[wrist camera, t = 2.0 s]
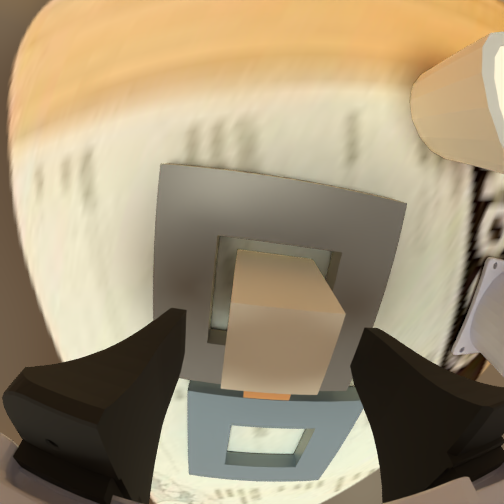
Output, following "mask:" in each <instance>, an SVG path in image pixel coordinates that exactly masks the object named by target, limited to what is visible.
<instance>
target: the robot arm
mask: <svg viewBox="0 0 504 504" xmlns="http://www.w3.org/2000/svg"><path fill="white" fill-rule="evenodd" d="M493 265H494V266H493ZM186 313H187V310H184V309H177V308H170V309H169V310H167V311H166V312H164V313H163V314H162V315H160V316H159V317H158V318H156V319H155V320H154V321H152V322H151V323H150V324H148V325H147V326H145V327H144V328H143V329H141V330H140V331H138V332H136V333H135V334H133V335H132V336H130V337H128V338H127V339H125V340H123V341H121V342H119V343H117V344H115V345H113V346H111V347H109V348H107V349H105V350H102V351H99V352H97V353H94V354H91V355H88V356H85V357H82V358H79V359H75V360H72V361H67V362H63V363H58V364H52V365H45V366H35V367H25V368H24V369H23V370H22V372H21V373H20V374H19V375H18V376H17V377H16V379H15V380H14V381H13V382H12V383H11V385H10V386H9V387H8V388H7V390H6V391H5V392H4V394H3V397H2V399H3V404H4V408H5V410H6V412H7V414H8V416H9V418H10V419H11V421H12V423H13V425H14V426H15V428H16V429H17V431H18V433H19V434H20V436H21V438H22V439H23V440H22V442H21V444H20V445H19V446H18V445H17V444H16V443H15V442H13V441H12V440H11V439H9V438H8V437H6V436H5V435H3V434H2V433H0V504H149V499H150V491H151V484H152V477H153V471H154V465H155V459H156V454H157V449H158V443H159V439H160V434H161V429H162V425H163V421H164V418H165V415H166V412H167V409H168V406H169V404H170V401H171V398H172V395H173V392H174V390H175V387H176V384H177V381H178V379H179V376H180V373H181V369H182V364H183V360H184V355H185V339H186ZM451 352H452V353H453V354H454V355H462V354H472V353H481V354H482V355H483V356H484V357H485V358H486V359H487V360H488V361H489V362H490V363H491V364H492V365H493V366H494V367H495V368H496V369H497V371H498V372H499V373H500V374H501V375H502V376H503V377H504V260H502V259H498V258H494V257H488V258H487V260H486V261H485V264H484V268H483V271H482V274H481V277H480V280H479V283H478V286H477V289H476V292H475V295H474V297H473V300H472V303H471V305H470V308H469V310H468V313H467V315H466V318H465V320H464V322H463V325H462V327H461V329H460V332H459V334H458V336H457V338H456V340H455V343H454V345H453V347H452V349H451ZM350 368H351V373H352V377H353V381H354V385H355V388H356V391H357V393H358V396H359V398H360V401H361V403H362V406H363V408H364V410H365V413H366V415H367V418H368V421H369V423H370V426H371V429H372V432H373V436H374V440H375V444H376V449H377V454H378V459H379V465H380V473H381V482H382V500H383V503H382V504H504V450H503V449H502V447H501V445H503V443H504V439H503V438H502V435H503V434H504V387H497V386H492V385H488V384H483V383H480V382H476V381H473V380H470V379H467V378H465V377H462V376H459V375H457V374H454V373H452V372H450V371H448V370H446V369H444V368H442V367H440V366H438V365H436V364H434V363H432V362H431V361H429V360H427V359H426V358H424V357H422V356H421V355H419V354H417V353H416V352H414V351H413V350H411V349H410V348H408V347H407V346H405V345H404V344H402V343H401V342H399V341H398V340H396V339H395V338H393V337H392V336H390V335H389V334H387V333H385V332H384V331H382V330H380V329H378V328H365V327H364V330H363V333H362V336H361V338H360V341H359V344H358V347H357V349H356V352H355V354H354V357H353V360H352V362H351V365H350Z"/></svg>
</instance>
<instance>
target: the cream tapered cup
mask: <svg viewBox="0 0 504 504" xmlns="http://www.w3.org/2000/svg"><path fill="white" fill-rule="evenodd" d="M410 108H411V115H412V120H413V123H414V125H415V127H416V129H417V132H418V134H419V136H420V138H421V139H422V140H423V142H424V143H425V144H426V145H427V146H428V148H429V149H430V150H431V151H432V152H434V153H436V154H437V155H439V156H441V157H442V158H444V159H448V160H452V161H457V162H461V163H465V164H469V165H473V166H477V167H481V168H484V169H488V170H491V171H495V172H498V173H502V174H504V32H496V33H490V34H488V35H486V36H485V37H483V38H481V39H479V40H477V41H476V42H474V43H472V44H470V45H469V46H467V47H465V48H464V49H462V50H460V51H459V52H457V53H455V54H454V55H452V56H450V57H449V58H447V59H445V60H444V61H442V62H440V63H439V64H437V65H435V66H434V67H432V68H431V69H429V70H427V71H426V72H424V73H423V74H421V75H420V76H419V78H418V79H417V80H416V82H415V83H414V84H413V86H412V91H411V96H410Z"/></svg>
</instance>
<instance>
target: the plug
mask: <svg viewBox="0 0 504 504" xmlns="http://www.w3.org/2000/svg"><path fill="white" fill-rule="evenodd" d="M345 315H346V314H345V312H344V310H343V308H342V307H341V305H340V303H339V302H338V300H337V298H336V297H335V295H334V293H333V292H332V290H331V289H330V287H329V285H328V284H327V282H326V280H325V279H324V277H323V275H322V274H321V272H320V271H319V269H318V267H317V266H316V264H315V263H314V261H313V259H308V258H301V257H293V256H286V255H278V254H271V253H263V252H255V251H248V250H240V249H237V257H236V265H235V272H234V280H233V288H232V296H231V304H230V312H229V320H228V329H227V337H226V346H225V354H224V363H223V372H222V381H221V389H230V390H239V391H243V397H245V398H256V399H270V400H289V399H290V396H291V394H297V395H317V394H318V392H319V389H320V387H321V384H322V382H323V379H324V376H325V374H326V371H327V368H328V365H329V363H330V360H331V357H332V354H333V351H334V349H335V346H336V343H337V340H338V337H339V334H340V331H341V327H342V324H343V321H344V318H345Z"/></svg>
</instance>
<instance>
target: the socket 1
mask: <svg viewBox="0 0 504 504" xmlns="http://www.w3.org/2000/svg"><path fill="white" fill-rule="evenodd" d="M406 206H407V203H404V202H401V201H398V200H394V199H390V198H386V197H382V196H378V195H373V194H369V193H364V192H360V191H355V190H350V189H345V188H341V187H336V186H330V185H325V184H320V183H314V182H309V181H303V180H297V179H291V178H285V177H279V176H273V175H266V174H259V173H252V172H245V171H237V170H229V169H221V168H212V167H202V166H192V165H182V164H170V163H167V164H160V174H159V184H158V195H157V208H156V222H155V241H154V272H153V319H154V320H155V319H156V318H158V317H159V316H160V315H162V314H163V313H164V312H166V311H167V310H169V309H170V308H177V309H184V310H187V313H186V339H185V355H184V360H183V364H182V369H181V373H180V376H179V378H182V379H188V380H194V381H201V382H207V383H215V384H221V381H222V372H223V363H224V354H225V346H226V337H227V331H225V330H217V329H210V325H211V314H212V303H213V293H214V283H215V273H216V264H217V254H218V245H219V237H220V236H226V237H234V238H241V239H249V240H256V241H264V242H271V243H278V244H286V245H293V246H300V247H307V248H315V249H322V250H329V251H332V255H331V260H330V264H329V268H328V272H327V277H326V282H327V284H328V285H329V287H330V289H331V290H332V292H333V293H334V295H335V297H336V298H337V300H338V302H339V303H340V305H341V307H342V308H343V310H344V312H345V314H346V315H345V318H344V321H343V324H342V327H341V331H340V334H339V337H338V340H337V343H336V346H335V349H334V351H333V354H332V357H331V360H330V363H329V365H328V368H327V371H326V374H325V376H324V379H323V382H322V384H321V387H320V389H319V391H347V389H348V387H349V384H350V382H351V380H352V378H353V377H352V373H351V368H350V365H351V362H352V360H353V357H354V354H355V352H356V349H357V347H358V344H359V341H360V338H361V336H362V333H363V330H364V327H365V328H372V327H373V324H374V322H375V319H376V316H377V313H378V310H379V307H380V304H381V301H382V298H383V295H384V292H385V288H386V285H387V282H388V278H389V275H390V272H391V268H392V265H393V261H394V257H395V253H396V250H397V246H398V242H399V238H400V233H401V229H402V225H403V220H404V216H405V211H406Z"/></svg>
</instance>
